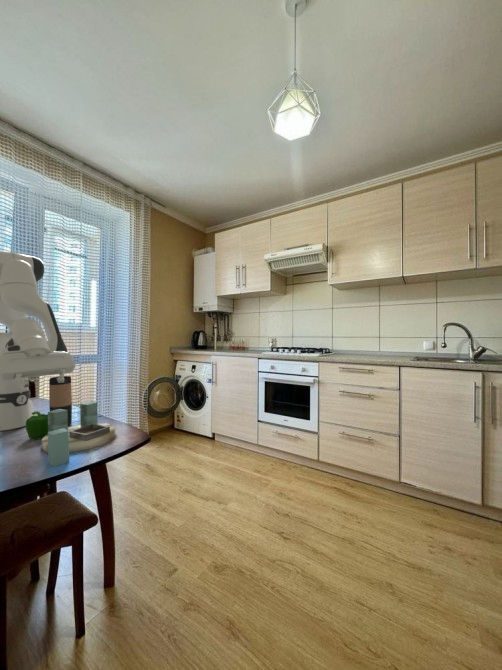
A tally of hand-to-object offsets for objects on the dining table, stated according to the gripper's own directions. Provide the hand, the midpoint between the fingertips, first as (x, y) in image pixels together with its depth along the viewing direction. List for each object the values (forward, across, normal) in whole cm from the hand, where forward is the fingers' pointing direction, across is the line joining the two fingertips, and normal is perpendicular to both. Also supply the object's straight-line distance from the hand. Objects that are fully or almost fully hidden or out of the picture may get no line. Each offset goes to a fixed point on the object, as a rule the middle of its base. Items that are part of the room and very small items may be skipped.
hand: (44, 383), depth 88 cm
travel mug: (-4, -12, -34) cm, 37 cm away
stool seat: (+13, -11, -18) cm, 25 cm away
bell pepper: (+2, -3, -28) cm, 28 cm away
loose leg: (+23, 0, -8) cm, 25 cm away
